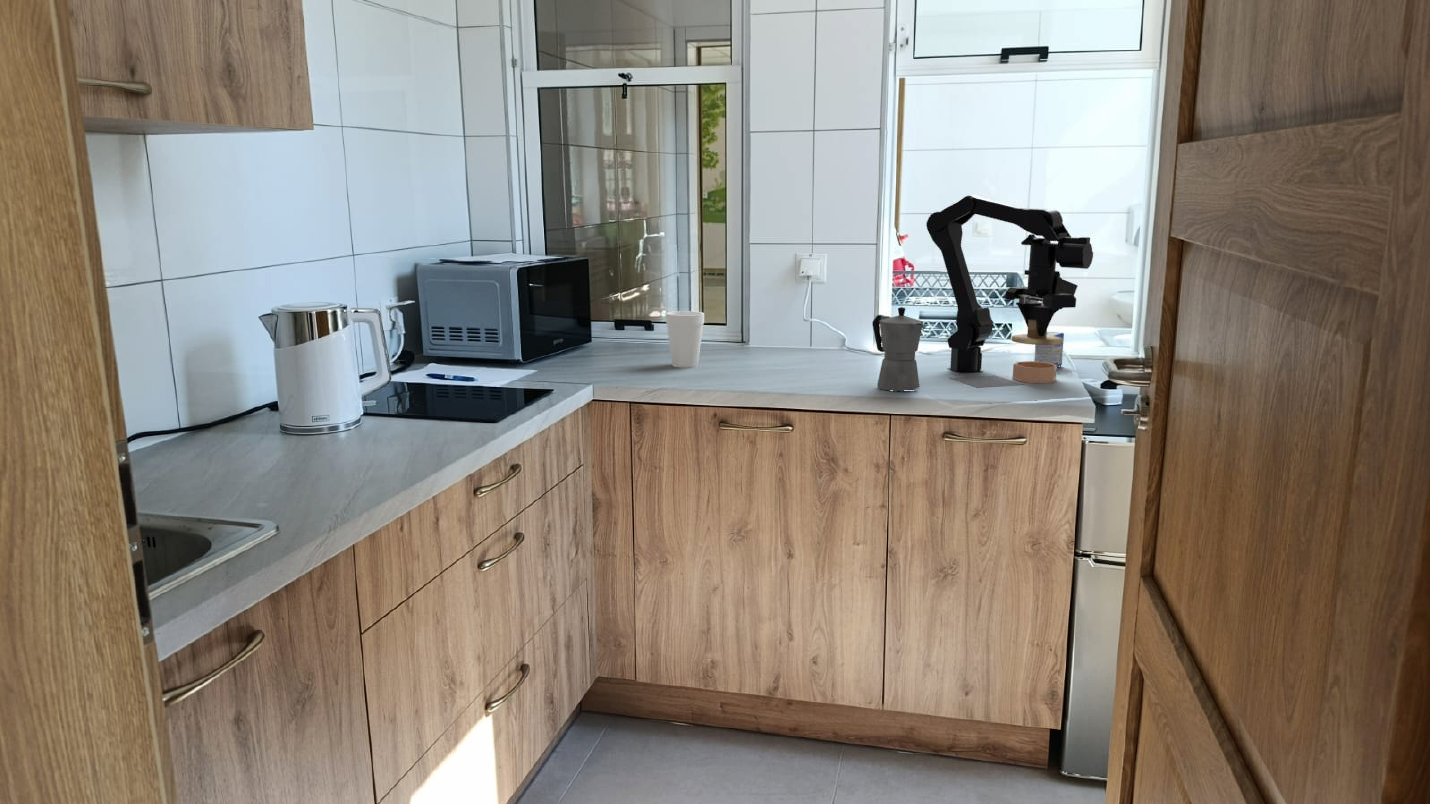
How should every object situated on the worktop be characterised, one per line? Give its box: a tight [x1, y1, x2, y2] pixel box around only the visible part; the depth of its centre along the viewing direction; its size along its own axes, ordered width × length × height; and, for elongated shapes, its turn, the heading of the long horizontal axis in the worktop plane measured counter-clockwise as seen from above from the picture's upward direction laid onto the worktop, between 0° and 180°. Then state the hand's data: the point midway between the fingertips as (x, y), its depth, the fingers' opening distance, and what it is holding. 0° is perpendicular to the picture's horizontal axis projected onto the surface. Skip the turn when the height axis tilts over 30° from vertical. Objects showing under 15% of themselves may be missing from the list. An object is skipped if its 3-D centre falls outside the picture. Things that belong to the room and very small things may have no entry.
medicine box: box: [1033, 331, 1065, 368], centre depth 251 cm, size 8×4×9 cm, turn 143°
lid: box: [1011, 319, 1062, 346], centre depth 231 cm, size 11×11×5 cm
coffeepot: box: [871, 306, 925, 391], centre depth 224 cm, size 15×9×18 cm, turn 33°
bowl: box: [1012, 360, 1058, 384], centre depth 233 cm, size 9×9×4 cm
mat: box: [949, 374, 1025, 389], centre depth 231 cm, size 12×12×1 cm
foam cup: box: [665, 310, 705, 369], centre depth 251 cm, size 10×9×13 cm
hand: (1037, 335), depth 231 cm, fingers closed on lid, 3 cm apart
